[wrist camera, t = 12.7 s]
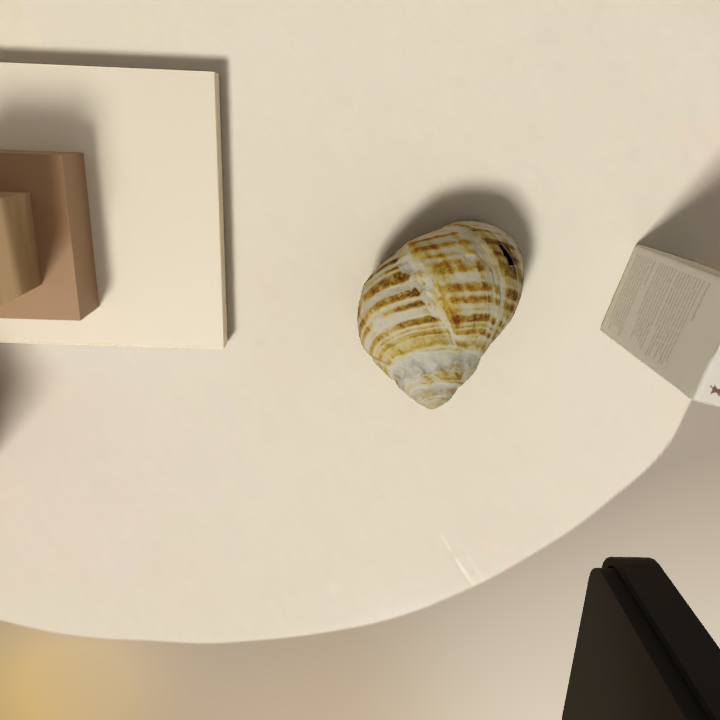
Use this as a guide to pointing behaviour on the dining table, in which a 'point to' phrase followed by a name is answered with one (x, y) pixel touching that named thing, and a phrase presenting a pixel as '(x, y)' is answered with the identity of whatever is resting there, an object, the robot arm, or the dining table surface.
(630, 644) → the robot arm
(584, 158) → the dining table surface
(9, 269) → the oak block
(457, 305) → the seashell
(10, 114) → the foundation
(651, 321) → the skincare box
